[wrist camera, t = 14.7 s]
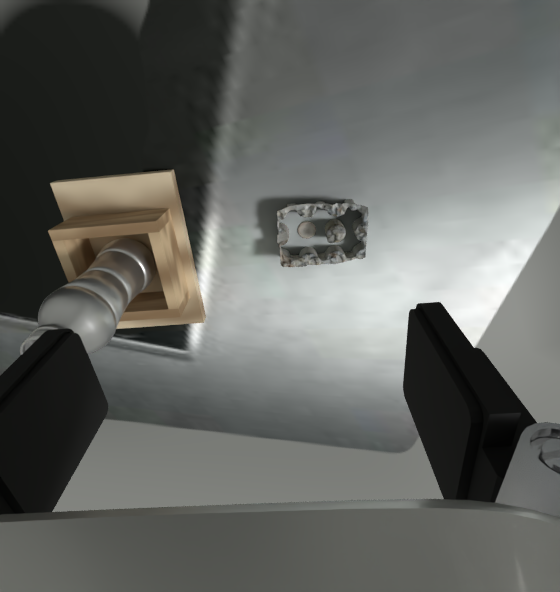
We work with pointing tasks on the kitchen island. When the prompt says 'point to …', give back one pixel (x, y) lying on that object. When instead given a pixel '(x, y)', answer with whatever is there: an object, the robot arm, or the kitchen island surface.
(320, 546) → the robot arm
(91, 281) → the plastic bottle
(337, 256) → the grey rocky tray
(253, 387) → the kitchen island surface
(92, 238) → the tan wooden box
